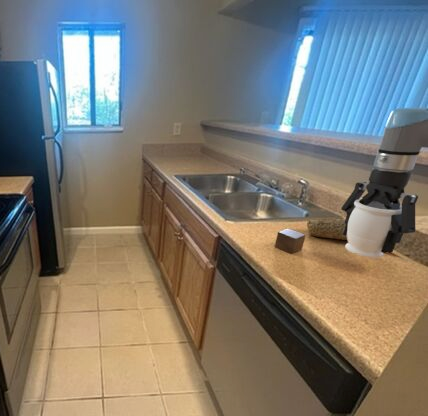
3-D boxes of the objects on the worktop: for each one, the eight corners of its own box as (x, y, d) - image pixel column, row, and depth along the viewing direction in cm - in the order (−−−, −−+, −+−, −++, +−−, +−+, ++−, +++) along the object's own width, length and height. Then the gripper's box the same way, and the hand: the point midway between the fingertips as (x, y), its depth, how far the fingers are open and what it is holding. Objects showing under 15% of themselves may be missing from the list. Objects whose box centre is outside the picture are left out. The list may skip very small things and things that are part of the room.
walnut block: (301, 250, 96) (306, 234, 94) (291, 254, 93) (295, 238, 91) (284, 242, 101) (288, 228, 99) (274, 246, 98) (277, 231, 96)
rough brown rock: (308, 241, 104) (382, 244, 93) (308, 221, 103) (382, 221, 92) (305, 234, 115) (370, 235, 104) (305, 216, 114) (370, 215, 103)
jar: (358, 241, 88) (373, 196, 82) (397, 257, 78) (417, 208, 73) (331, 245, 86) (345, 200, 80) (368, 262, 76) (386, 212, 71)
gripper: (339, 161, 83) (320, 227, 91) (433, 180, 62) (399, 264, 70) (360, 160, 84) (340, 225, 92) (461, 178, 63) (424, 261, 71)
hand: (366, 242), depth 81 cm, fingers closed on jar, 10 cm apart
